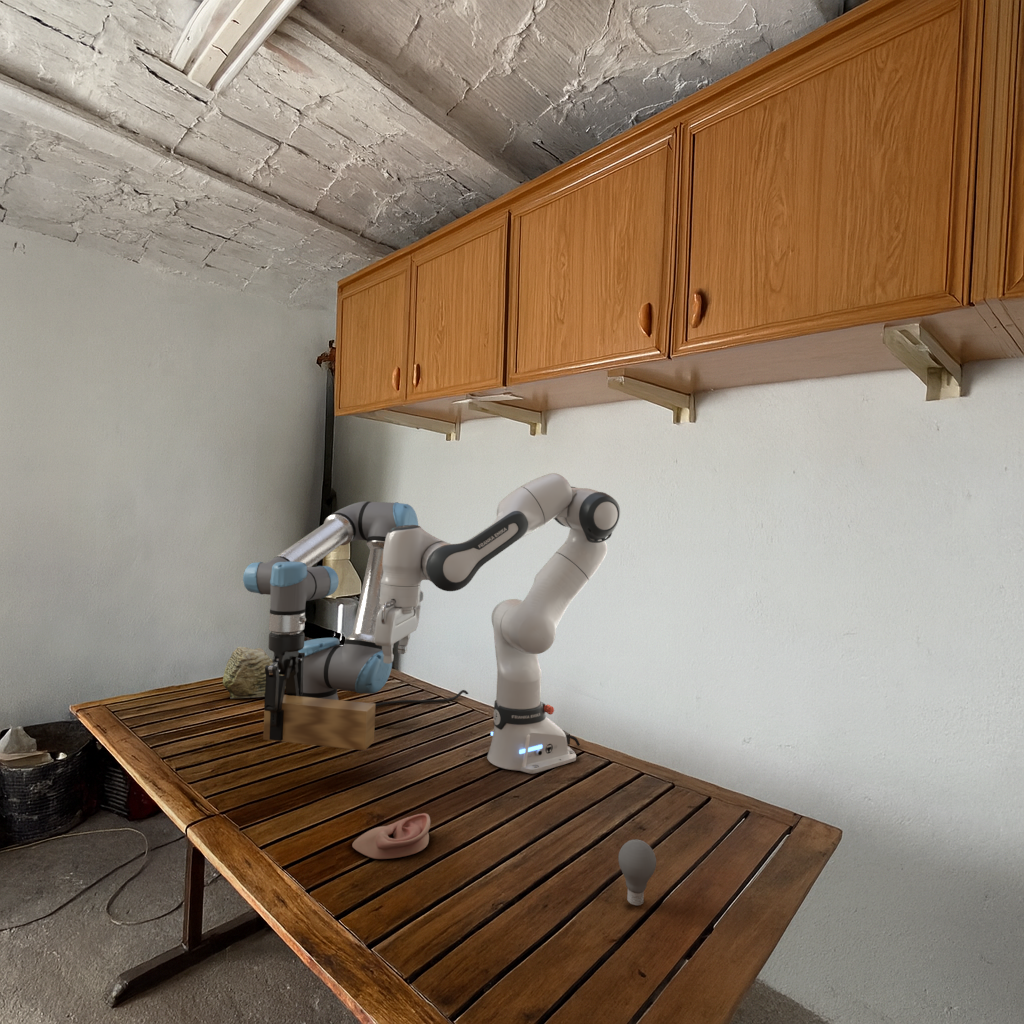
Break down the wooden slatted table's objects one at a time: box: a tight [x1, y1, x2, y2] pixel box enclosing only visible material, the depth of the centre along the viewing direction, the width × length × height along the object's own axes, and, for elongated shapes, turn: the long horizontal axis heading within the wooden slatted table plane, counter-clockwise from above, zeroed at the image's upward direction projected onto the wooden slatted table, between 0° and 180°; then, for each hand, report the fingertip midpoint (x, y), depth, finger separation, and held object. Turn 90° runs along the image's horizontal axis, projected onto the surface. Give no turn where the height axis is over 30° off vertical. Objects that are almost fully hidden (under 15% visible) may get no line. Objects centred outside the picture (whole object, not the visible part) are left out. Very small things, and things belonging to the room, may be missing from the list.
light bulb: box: [618, 838, 657, 906], centre depth 102 cm, size 6×6×10 cm
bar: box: [262, 694, 377, 751], centre depth 140 cm, size 24×5×8 cm, turn 81°
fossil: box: [222, 646, 286, 699], centre depth 198 cm, size 9×18×15 cm, turn 132°
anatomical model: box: [351, 812, 431, 860], centre depth 117 cm, size 13×4×12 cm
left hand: (283, 734), depth 142 cm, fingers closed on bar, 5 cm apart
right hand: (395, 657), depth 143 cm, fingers open, 8 cm apart
